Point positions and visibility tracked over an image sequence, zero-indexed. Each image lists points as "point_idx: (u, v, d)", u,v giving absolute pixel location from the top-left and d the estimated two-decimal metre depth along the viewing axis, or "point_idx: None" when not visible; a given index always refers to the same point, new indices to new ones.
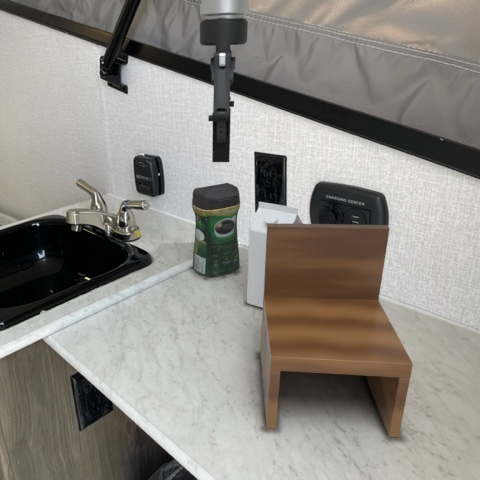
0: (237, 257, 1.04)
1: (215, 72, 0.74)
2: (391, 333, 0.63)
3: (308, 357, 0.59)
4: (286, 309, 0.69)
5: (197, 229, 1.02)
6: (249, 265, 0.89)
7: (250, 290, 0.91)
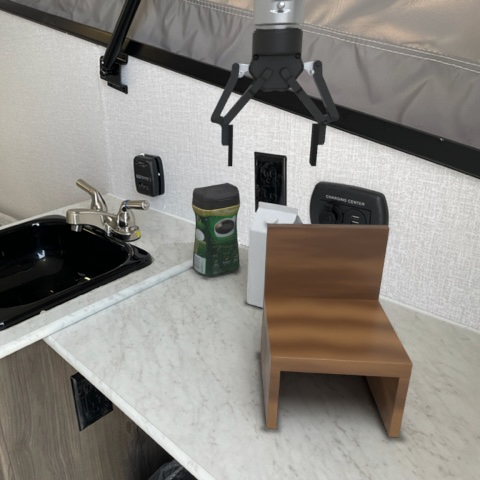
0: (237, 257, 1.04)
1: (323, 78, 0.77)
2: (391, 333, 0.63)
3: (308, 357, 0.59)
4: (286, 309, 0.69)
5: (197, 229, 1.02)
6: (249, 265, 0.89)
7: (250, 290, 0.91)
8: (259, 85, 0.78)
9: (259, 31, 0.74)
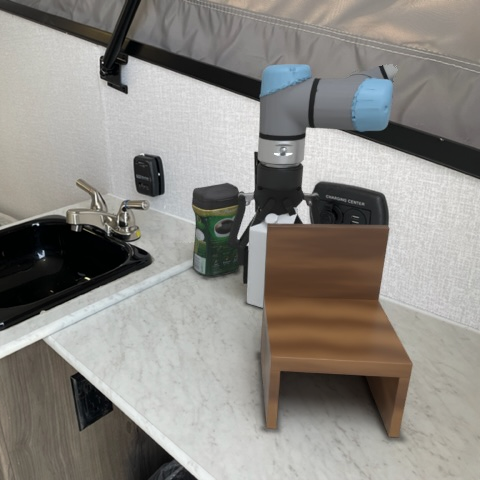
0: None
1: (318, 211, 0.84)
2: (391, 333, 0.63)
3: (308, 357, 0.59)
4: (286, 309, 0.69)
5: (197, 229, 1.02)
6: (249, 265, 0.89)
7: (250, 290, 0.91)
8: (265, 213, 0.85)
9: (263, 168, 0.82)
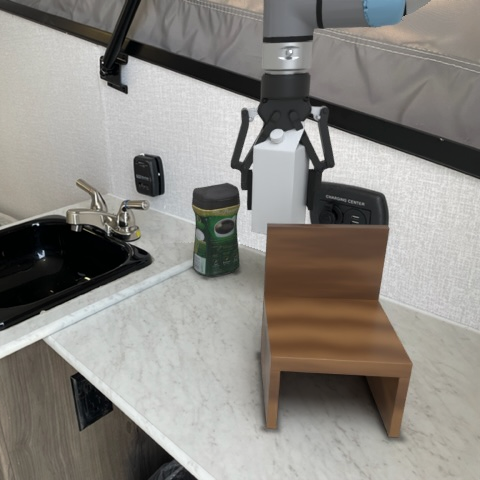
0: (237, 257, 1.04)
1: (327, 125, 0.79)
2: (391, 333, 0.63)
3: (308, 357, 0.59)
4: (286, 309, 0.69)
5: (197, 229, 1.02)
6: (253, 188, 0.84)
7: (255, 217, 0.85)
8: (270, 128, 0.79)
9: (268, 76, 0.76)
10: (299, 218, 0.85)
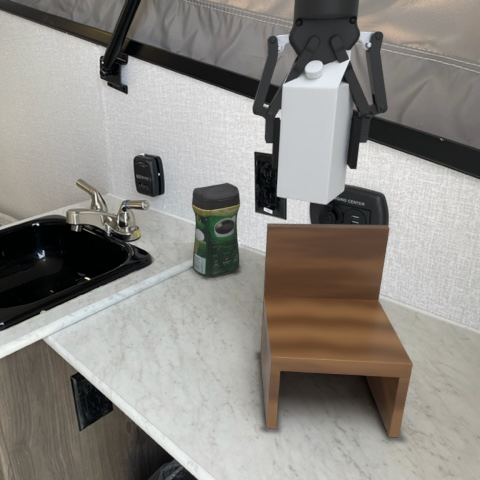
0: (237, 257, 1.04)
1: (380, 56, 0.61)
2: (391, 333, 0.63)
3: (308, 357, 0.59)
4: (286, 309, 0.69)
5: (197, 229, 1.02)
6: (281, 140, 0.66)
7: (282, 177, 0.68)
8: (306, 60, 0.62)
9: None
10: (338, 180, 0.67)
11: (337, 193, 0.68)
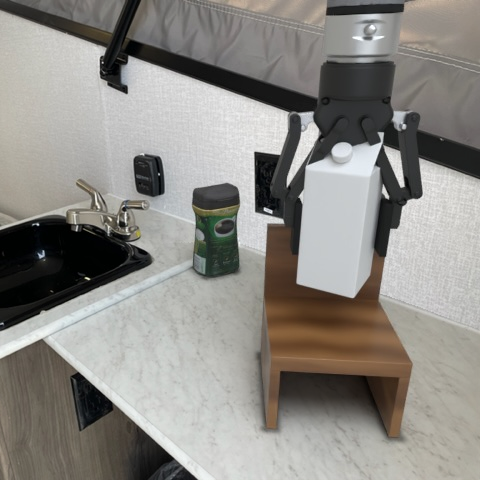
0: (237, 257, 1.04)
1: (415, 138, 0.54)
2: (391, 333, 0.63)
3: (308, 357, 0.59)
4: (286, 309, 0.69)
5: (197, 229, 1.02)
6: (303, 225, 0.59)
7: (303, 264, 0.61)
8: (332, 141, 0.55)
9: (333, 65, 0.51)
10: (366, 267, 0.60)
11: (364, 281, 0.61)
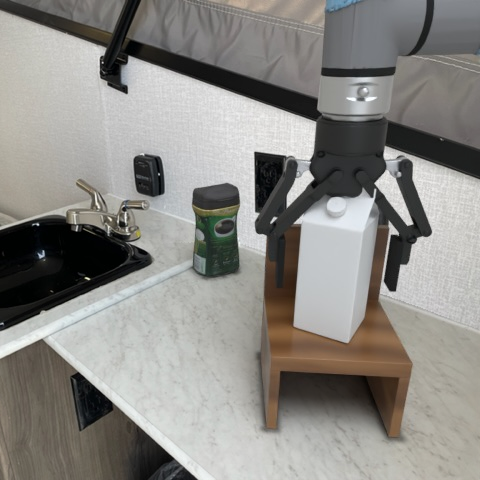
0: (237, 257, 1.04)
1: (413, 182, 0.56)
2: (391, 333, 0.63)
3: (308, 357, 0.59)
4: (286, 309, 0.69)
5: (197, 229, 1.02)
6: (299, 273, 0.62)
7: (299, 309, 0.63)
8: (324, 190, 0.57)
9: (328, 122, 0.54)
10: (360, 312, 0.63)
11: (358, 325, 0.64)
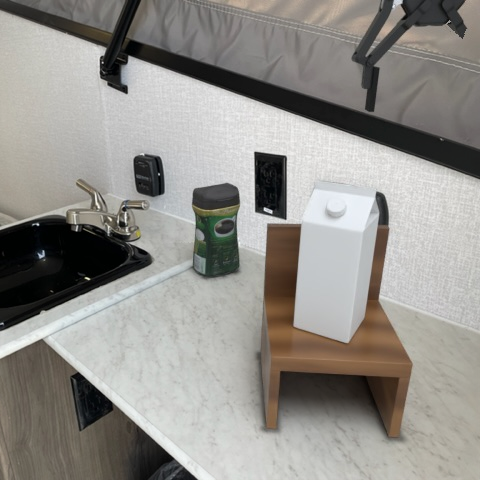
0: (237, 257, 1.04)
1: None
2: (391, 333, 0.63)
3: (308, 357, 0.59)
4: (286, 309, 0.69)
5: (197, 229, 1.02)
6: (299, 273, 0.62)
7: (299, 309, 0.63)
8: (415, 18, 0.71)
9: None
10: (360, 312, 0.63)
11: (358, 325, 0.64)
